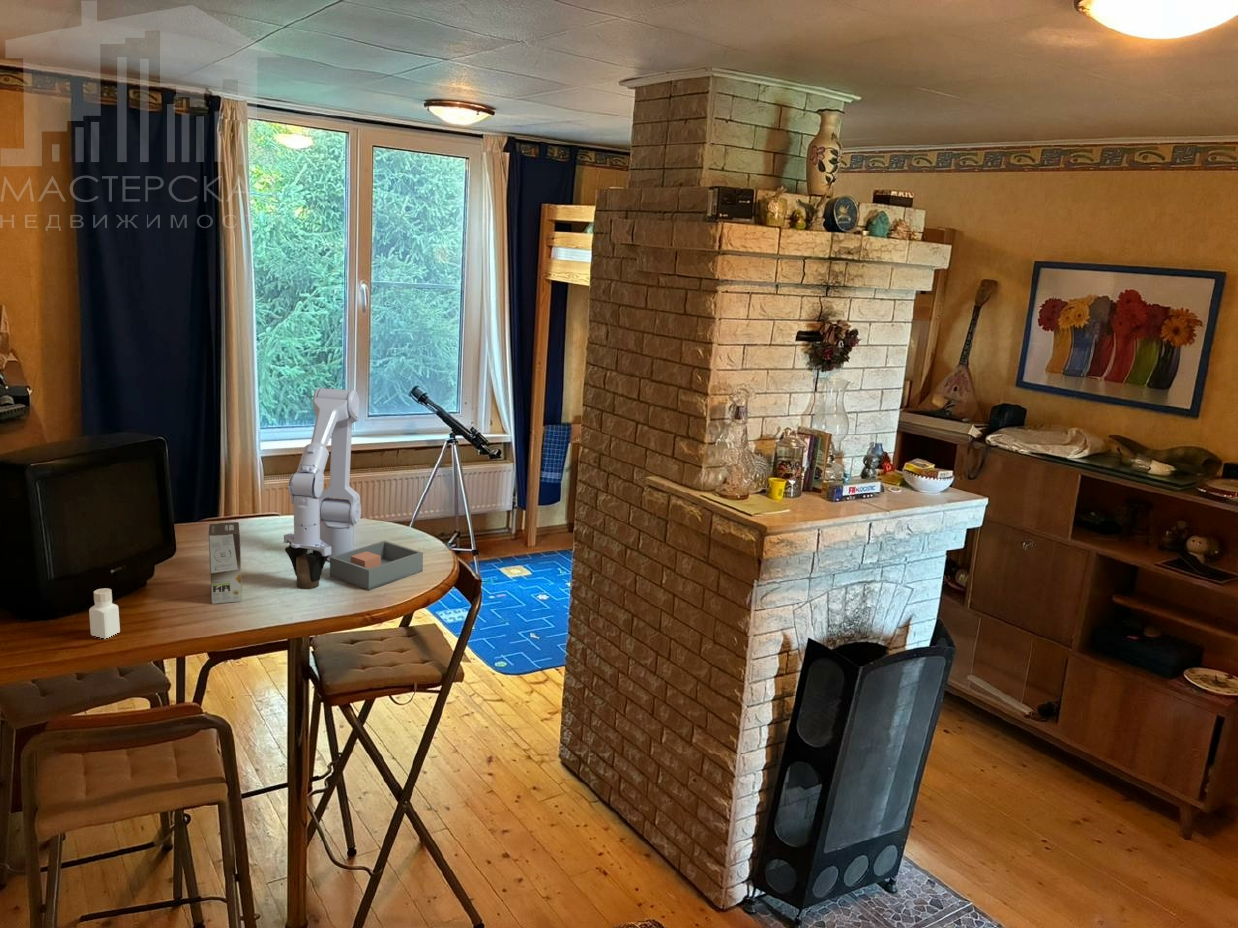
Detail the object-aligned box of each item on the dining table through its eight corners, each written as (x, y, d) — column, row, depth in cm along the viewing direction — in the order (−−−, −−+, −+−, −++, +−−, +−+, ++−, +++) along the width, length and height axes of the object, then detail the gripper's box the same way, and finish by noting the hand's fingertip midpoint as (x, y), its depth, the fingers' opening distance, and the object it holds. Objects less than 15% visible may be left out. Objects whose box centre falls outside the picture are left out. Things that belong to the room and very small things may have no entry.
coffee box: (242, 601, 209) (240, 533, 205) (211, 604, 206) (208, 535, 203) (241, 587, 217) (238, 521, 213) (211, 589, 214) (208, 523, 211)
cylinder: (292, 585, 220) (291, 557, 218) (309, 580, 224) (309, 552, 222) (306, 590, 217) (305, 562, 216) (323, 585, 221) (323, 557, 220)
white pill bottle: (105, 629, 190) (102, 586, 188) (121, 633, 189) (118, 589, 187) (89, 637, 187) (86, 592, 185) (105, 640, 186) (102, 596, 183)
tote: (330, 576, 227) (329, 557, 226) (384, 558, 241) (384, 540, 240) (368, 590, 220) (368, 570, 219) (422, 571, 234) (422, 552, 233)
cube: (350, 575, 227) (350, 556, 226) (366, 570, 231) (366, 551, 230) (364, 580, 224) (364, 560, 223) (380, 575, 228) (380, 555, 227)
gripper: (272, 519, 217) (273, 574, 221) (313, 533, 210) (314, 589, 213) (297, 513, 223) (298, 567, 226) (338, 526, 216) (338, 581, 219)
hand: (307, 577), depth 220 cm, fingers closed on cylinder, 5 cm apart
